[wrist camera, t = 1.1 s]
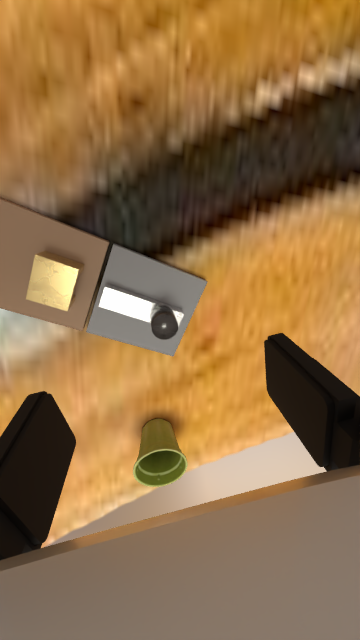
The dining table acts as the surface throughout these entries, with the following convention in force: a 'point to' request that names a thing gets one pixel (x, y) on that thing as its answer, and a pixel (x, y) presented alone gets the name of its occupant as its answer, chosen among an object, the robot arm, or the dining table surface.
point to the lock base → (90, 278)
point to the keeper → (53, 280)
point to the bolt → (143, 310)
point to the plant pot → (159, 455)
